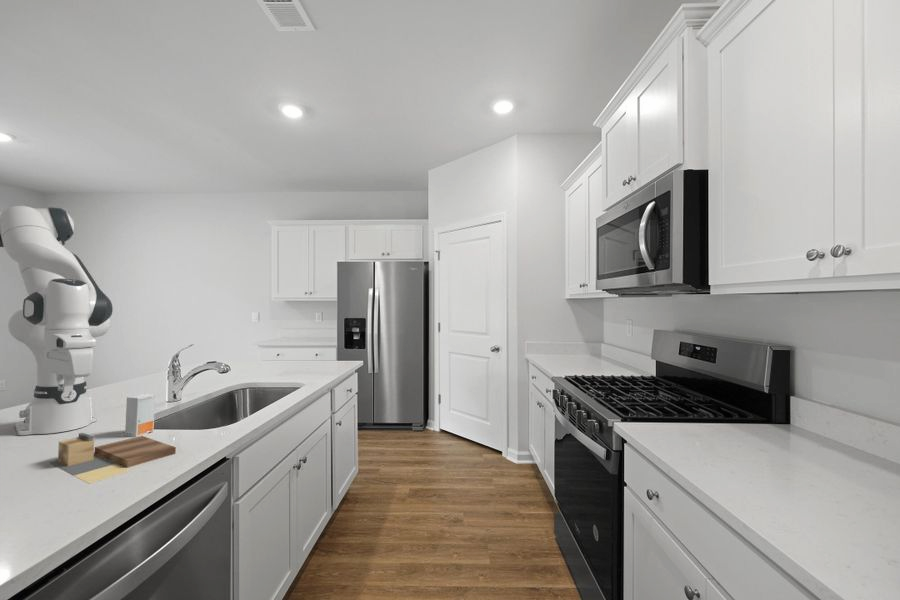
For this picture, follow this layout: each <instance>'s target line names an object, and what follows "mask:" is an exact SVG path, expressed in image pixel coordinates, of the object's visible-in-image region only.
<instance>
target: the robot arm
mask: <svg viewBox="0 0 900 600" xmlns="http://www.w3.org/2000/svg"><path fill="white" fill-rule="evenodd" d="M74 231H75V221H74V220H73V218H72V217H71V215H69V213H67V211H66V210H64V208H61V207H50V206H49V207H47V208H46V207H44V208H42V207H41V208H40V207H38V208H37V207H35V208H34V207H31V206H28V205H15V206H11V207H10V206H9V207H7V208H6V209H4V210H3V211H0V248H4V250H5V252H6V254H7V255H8V256H9V257H10V258H11V259H12V260H13V261H14V262H16V263H18V268H19V271H20V275H21V277H22V280H23V281H22V282H23V284H24V286H25V289H26V291H27V295H28V296H27V297H25V298H24V299H23V305H22V309H20V310H17V311H16V312H15V313H13V315H11V317H10V318H9V321H8V324H7V325H8V327H7V328H8V332H9V334H10V336H12V337H13V338H14V339H15V340H16V341H18V342H20V343H22V344H24V345H25V346H26V347H28V349H30V351H31V352H32V354H33V356H34V358H35V361H36V369H37V372H36V373H37V375H36V377H37V385H36V386H35V387H34V390H33V399H32V400H31V401H30V403H29V404H28V405H27V406H26V407H25V409H23V410H22V409H21V410H19V413H18V414H19V415H18V416H19V418H20V419H23V418H24V419H23V420H22V421H19V422H15V424H14V429H15V431H16V434H17V435H18V436H28V435H46V434H56V433H63V432H68V431H74V430H77V429H81V428H84V427H86V426H89V425H90V424H92V423H94V422H97V421H98V417H97V416H93V410H92V407H93V406H92V397H90V396H88V395H87V394H86V393H87V388H88V387H87V381H86V380H85V379H86V377H89V376H90V375H91V373H92V371H93V370H92V369H93V361H94V350H93V348H95V347H96V345H97V344H96V343H97V340H96V339H95V338H98V337H102V336H104V335H106V334H107V333H108V331H109V330H110V328H111V325H112V320H111V317H112V314H113V304H112V301H111V300H110V298H109V296H107V294H105V293H104V292H103V290H102V289H100V287H99V286H98V284H97V283H96V280H95V279H94V278H93V276H92V275H91V274H90V271H89V270H88V269H87V267H86V266H85V265H84V263H83V261H82V260H81V259H80V257H78V255H77V254H76V253H74V252H72V251H70V250H68V249H67V248H66V247H65V245H66V243H65V242H67V241H69V240H70V239H71V238H72V237H73V235H74ZM60 242H61V243H60Z"/></svg>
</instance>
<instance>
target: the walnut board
mask: <svg viewBox="0 0 900 600" xmlns="http://www.w3.org/2000/svg"><path fill="white" fill-rule="evenodd" d="M176 449H177V448H176V446H173V445H170V444H167V443H164V442H162V441H158V440H156V439H152V438H149V437H146V436H143V435H140V436H137V437H130V438H127V439H122V440H120V441H119V440H118V441H115V442H110V443H106V444H102V445H98V446H94V455H96V456H98V457H100V458H103V459H105V460H107V461H110V462H112V463H114V464H117V465H119V466H121V467H124V468H126V469H128V468H132V467H134V466H137V465H142V464H145V463H148V462H151V461H155V460H159V459H163V458H165V457H169V456H173V455H176Z"/></svg>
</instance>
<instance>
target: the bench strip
mask: <svg viewBox="0 0 900 600" xmlns="http://www.w3.org/2000/svg"><path fill="white" fill-rule="evenodd" d="M48 464H50V465H52V466H55V467H56V468H58V469H60V470H62V471H64V472H66V473H68V474H70V475H72V476H74V477H76V478H77V479H80V480H81V481H83V482H85V483H88V484H93V483H97V482H99V481H103V480H105V479H106V480H107V479H109V478H112V477H116V476H120V475H123V474H126V473H130V472H131V470H130V469H128V468H127V467H124V466H122V465H120V464H117V463H115V462H113V461H110V460H108V459H106V458H104V457H101V456H99V455H97V454H94V460H90V461H86V462H82V463H78V464H75V465H71V466H67V465H65V464H63V463H61V462H59V461H58V459H57V460H53V461H49V462H48Z"/></svg>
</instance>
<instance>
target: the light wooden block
mask: <svg viewBox="0 0 900 600" xmlns="http://www.w3.org/2000/svg"><path fill="white" fill-rule="evenodd" d="M57 452H58V453H57V455H58V457H57V460H58V461H59V462H61V463H63V464H65V465H67V466H71V465H75V464H78V463H82V462H86V461H90V460H94V455H95V454H94V453H95V439H94V436H92V435H89V434H87V433H85V432H80V433H79V432H78V437H75V438H70V439H66V440H65V439H64V440H60V441H58V451H57Z"/></svg>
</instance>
